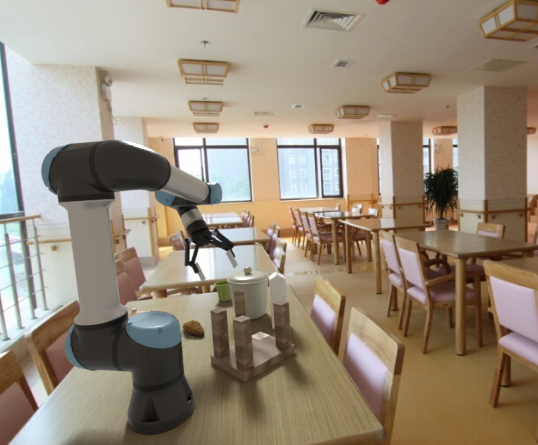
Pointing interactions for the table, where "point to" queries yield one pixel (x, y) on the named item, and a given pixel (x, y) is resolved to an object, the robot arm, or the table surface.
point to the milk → (276, 290)
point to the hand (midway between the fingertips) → (220, 273)
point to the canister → (251, 290)
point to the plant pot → (223, 291)
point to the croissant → (193, 328)
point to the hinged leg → (239, 303)
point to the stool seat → (250, 343)
